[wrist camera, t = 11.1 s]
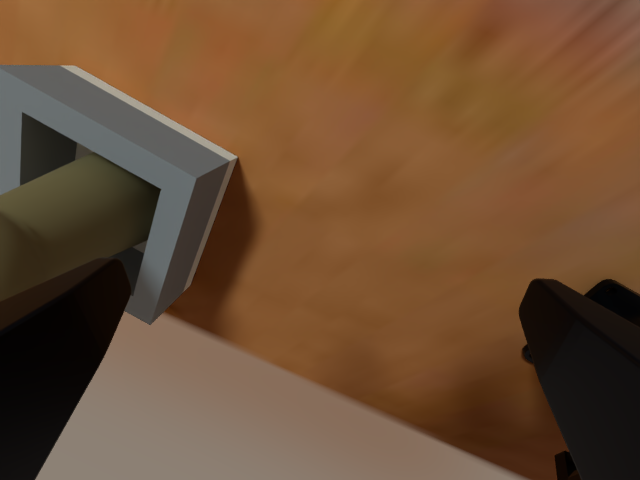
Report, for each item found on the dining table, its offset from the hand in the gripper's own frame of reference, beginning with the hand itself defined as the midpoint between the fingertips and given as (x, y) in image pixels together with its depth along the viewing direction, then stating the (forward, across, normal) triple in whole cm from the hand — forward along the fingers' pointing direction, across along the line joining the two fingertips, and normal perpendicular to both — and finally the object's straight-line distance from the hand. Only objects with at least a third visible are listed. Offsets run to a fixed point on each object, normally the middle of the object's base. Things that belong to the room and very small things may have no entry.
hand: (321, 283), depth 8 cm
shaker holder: (+14, +12, +5) cm, 19 cm away
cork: (+13, +12, +5) cm, 19 cm away
